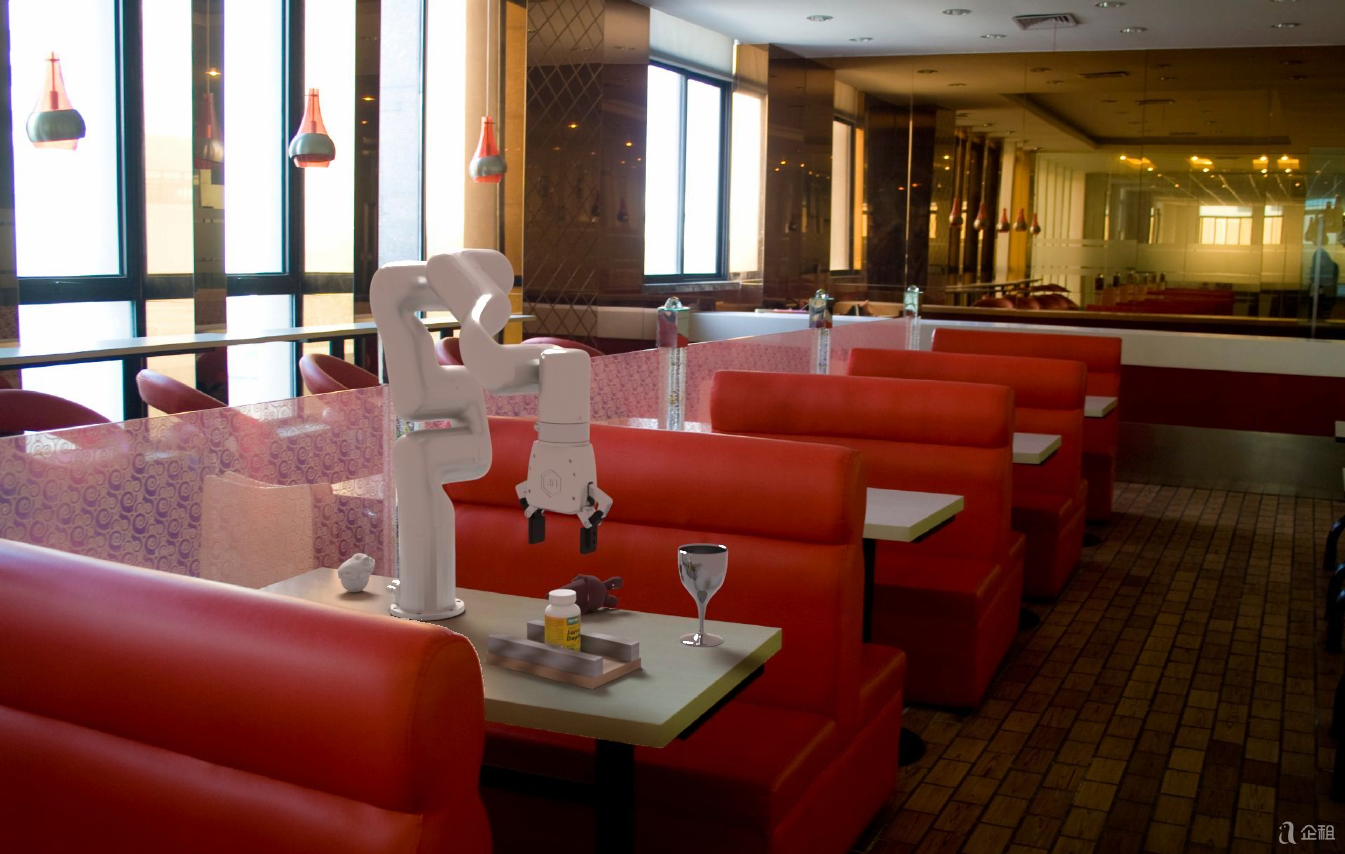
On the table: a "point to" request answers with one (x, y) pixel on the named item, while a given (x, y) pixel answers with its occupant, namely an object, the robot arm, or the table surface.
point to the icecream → (593, 592)
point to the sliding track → (565, 676)
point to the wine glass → (702, 583)
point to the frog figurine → (356, 572)
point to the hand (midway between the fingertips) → (562, 547)
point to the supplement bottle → (563, 620)
